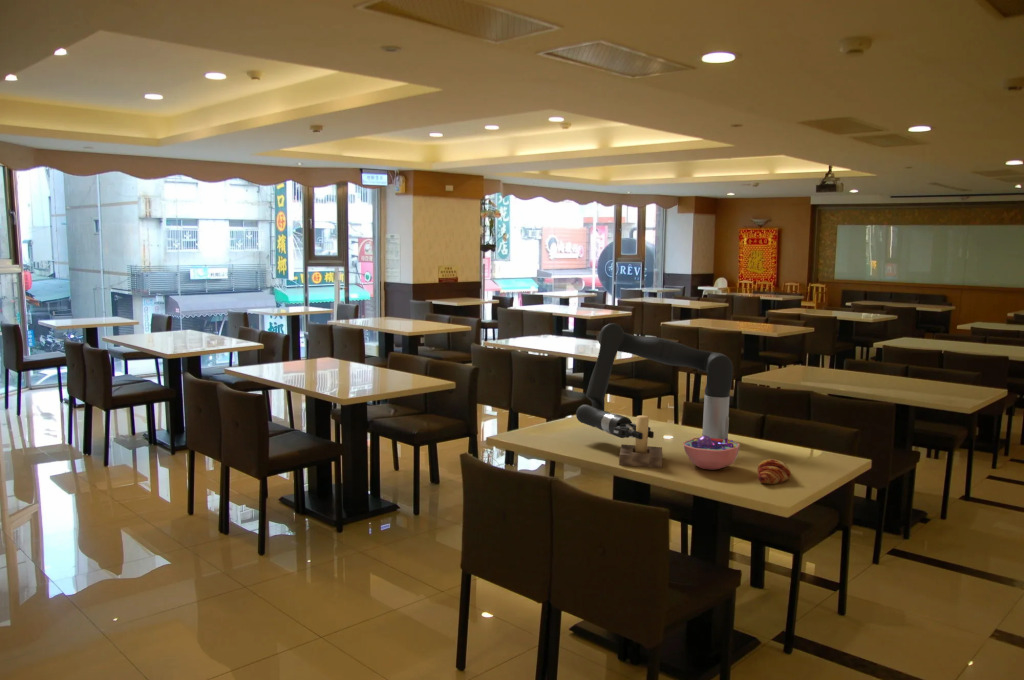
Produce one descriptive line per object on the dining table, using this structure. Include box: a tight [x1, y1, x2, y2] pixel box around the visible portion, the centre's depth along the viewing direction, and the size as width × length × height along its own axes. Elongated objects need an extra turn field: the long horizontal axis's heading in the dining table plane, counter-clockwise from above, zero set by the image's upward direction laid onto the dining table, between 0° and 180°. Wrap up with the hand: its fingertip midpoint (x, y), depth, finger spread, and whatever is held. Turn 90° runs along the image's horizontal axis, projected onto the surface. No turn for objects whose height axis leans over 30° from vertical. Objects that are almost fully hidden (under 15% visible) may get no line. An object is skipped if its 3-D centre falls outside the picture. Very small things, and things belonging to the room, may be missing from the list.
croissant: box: [756, 458, 792, 485], centre depth 242 cm, size 21×10×8 cm, turn 144°
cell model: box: [682, 435, 741, 471], centre depth 253 cm, size 17×20×11 cm
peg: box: [634, 415, 650, 453], centre depth 259 cm, size 4×4×14 cm
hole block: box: [618, 444, 663, 469], centre depth 259 cm, size 14×14×4 cm
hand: (647, 435), depth 256 cm, fingers open, 4 cm apart
